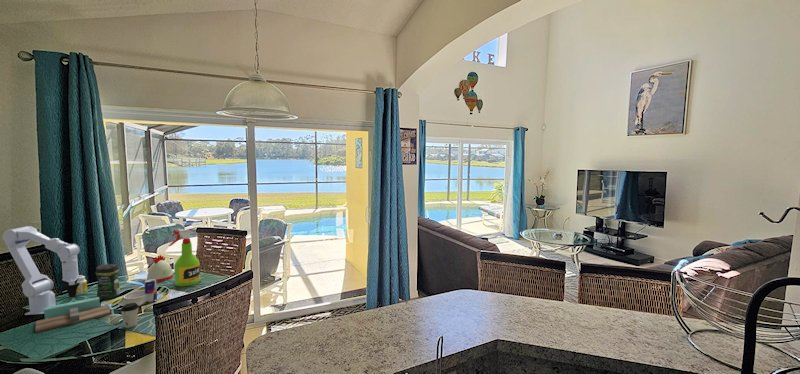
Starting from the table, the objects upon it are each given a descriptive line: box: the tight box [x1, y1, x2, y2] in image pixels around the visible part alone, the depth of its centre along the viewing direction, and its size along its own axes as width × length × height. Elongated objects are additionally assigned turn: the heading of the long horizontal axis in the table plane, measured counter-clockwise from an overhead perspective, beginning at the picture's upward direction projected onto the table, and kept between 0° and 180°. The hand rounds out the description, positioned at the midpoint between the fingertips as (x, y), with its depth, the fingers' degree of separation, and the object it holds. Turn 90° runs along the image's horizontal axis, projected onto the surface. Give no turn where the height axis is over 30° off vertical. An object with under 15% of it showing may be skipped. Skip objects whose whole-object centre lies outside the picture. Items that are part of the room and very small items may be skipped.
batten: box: [44, 296, 101, 319], centre depth 172 cm, size 20×4×5 cm, turn 131°
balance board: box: [34, 304, 112, 333], centre depth 166 cm, size 12×26×4 cm, turn 136°
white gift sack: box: [146, 254, 174, 283], centre depth 219 cm, size 14×14×15 cm
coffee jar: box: [95, 263, 121, 300], centre depth 190 cm, size 10×8×19 cm
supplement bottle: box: [76, 275, 88, 296], centre depth 194 cm, size 5×5×10 cm
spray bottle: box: [168, 229, 201, 287], centre depth 210 cm, size 14×18×35 cm
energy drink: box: [143, 278, 158, 303], centre depth 186 cm, size 5×5×12 cm
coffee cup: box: [119, 302, 140, 329], centre depth 160 cm, size 7×7×10 cm
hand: (72, 294), depth 171 cm, fingers open, 7 cm apart
